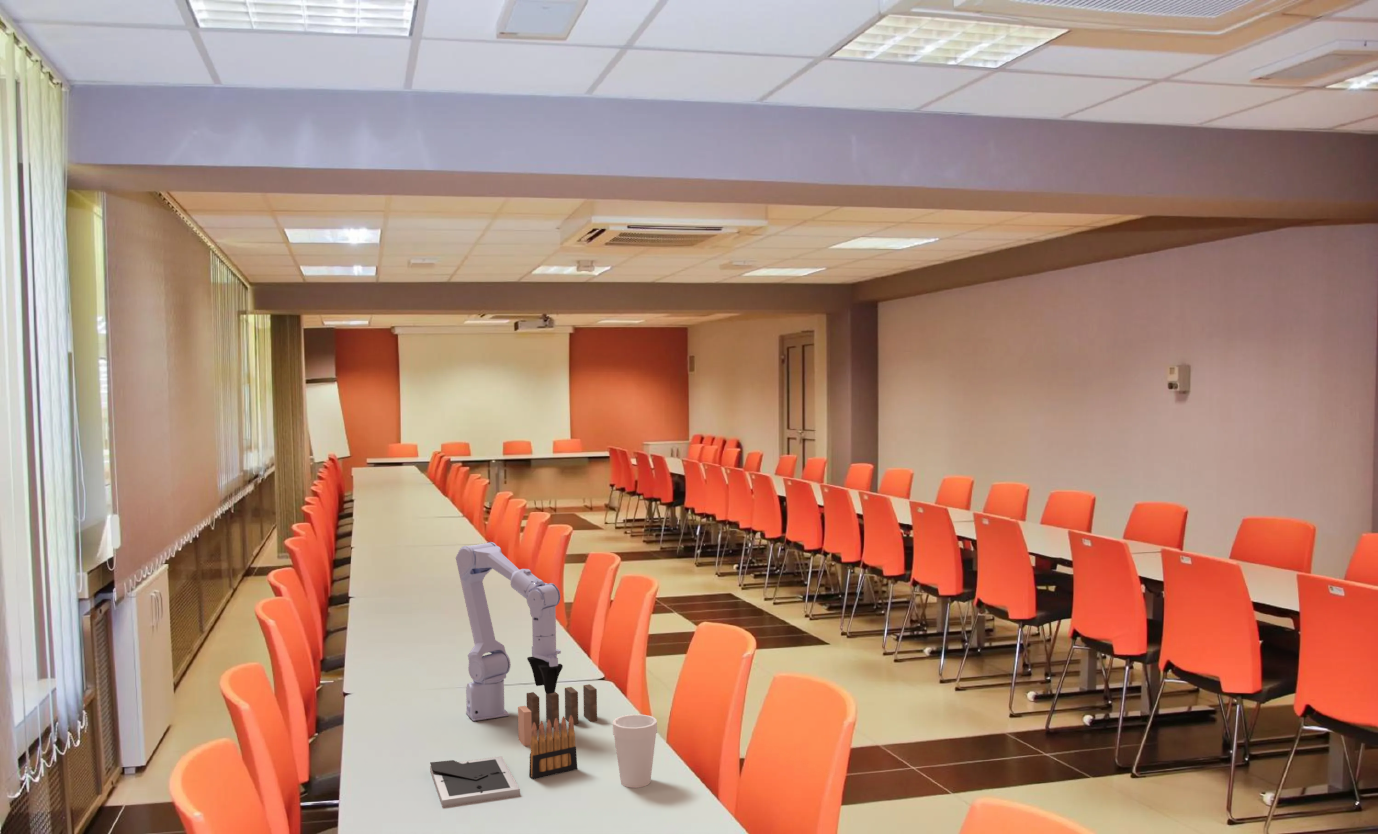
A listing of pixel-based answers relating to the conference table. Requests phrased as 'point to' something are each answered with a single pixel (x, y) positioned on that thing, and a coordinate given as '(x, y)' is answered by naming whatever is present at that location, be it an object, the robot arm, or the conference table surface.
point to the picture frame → (473, 781)
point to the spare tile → (524, 725)
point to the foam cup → (635, 748)
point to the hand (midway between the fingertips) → (545, 689)
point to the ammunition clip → (552, 749)
